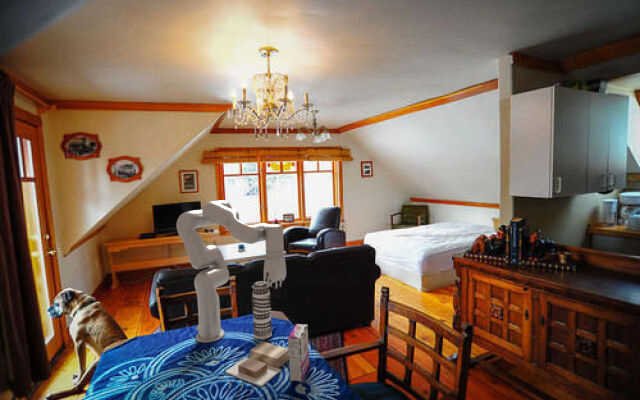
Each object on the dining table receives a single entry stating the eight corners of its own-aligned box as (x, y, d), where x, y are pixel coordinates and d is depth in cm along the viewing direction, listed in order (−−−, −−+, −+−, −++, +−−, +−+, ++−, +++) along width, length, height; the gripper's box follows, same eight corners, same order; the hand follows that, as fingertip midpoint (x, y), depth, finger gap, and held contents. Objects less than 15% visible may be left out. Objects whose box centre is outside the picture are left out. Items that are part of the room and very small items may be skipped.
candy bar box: (297, 364, 130) (295, 323, 129) (309, 365, 129) (308, 324, 128) (289, 381, 119) (287, 336, 118) (302, 382, 118) (300, 337, 117)
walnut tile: (249, 357, 130) (249, 364, 130) (238, 365, 125) (238, 371, 125) (266, 363, 125) (267, 370, 125) (256, 371, 120) (256, 378, 120)
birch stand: (250, 359, 134) (250, 350, 134) (263, 350, 141) (263, 341, 141) (277, 368, 127) (277, 358, 127) (290, 359, 134) (289, 349, 134)
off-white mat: (225, 372, 126) (225, 371, 126) (246, 358, 135) (245, 357, 135) (261, 386, 116) (261, 385, 116) (280, 371, 126) (280, 369, 126)
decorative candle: (271, 339, 151) (269, 285, 150) (251, 339, 151) (248, 286, 150) (274, 330, 160) (272, 279, 159) (255, 330, 160) (253, 280, 159)
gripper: (279, 249, 148) (280, 290, 149) (256, 256, 135) (257, 300, 136) (292, 251, 144) (294, 292, 145) (270, 258, 131) (272, 304, 132)
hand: (276, 296), depth 141 cm, fingers closed
